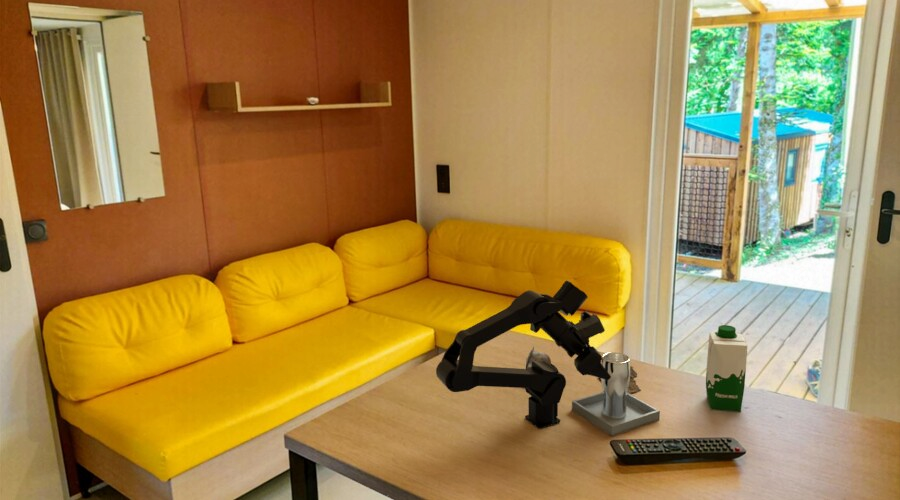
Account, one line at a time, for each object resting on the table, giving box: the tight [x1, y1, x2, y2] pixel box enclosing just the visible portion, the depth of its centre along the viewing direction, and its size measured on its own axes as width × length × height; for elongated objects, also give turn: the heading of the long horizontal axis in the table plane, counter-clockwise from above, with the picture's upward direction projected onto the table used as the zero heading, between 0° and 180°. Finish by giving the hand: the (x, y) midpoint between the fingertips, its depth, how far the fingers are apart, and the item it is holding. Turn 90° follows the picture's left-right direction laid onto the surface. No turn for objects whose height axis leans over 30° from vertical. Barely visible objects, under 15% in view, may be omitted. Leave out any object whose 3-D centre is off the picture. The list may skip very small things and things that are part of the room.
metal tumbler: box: [600, 351, 631, 419], centre depth 156 cm, size 7×7×15 cm
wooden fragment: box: [598, 365, 642, 395], centre depth 180 cm, size 26×11×1 cm, turn 169°
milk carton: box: [705, 324, 748, 413], centre depth 159 cm, size 9×9×20 cm
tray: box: [571, 391, 661, 437], centre depth 158 cm, size 15×15×2 cm
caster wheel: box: [525, 345, 559, 371], centre depth 179 cm, size 7×11×10 cm
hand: (604, 370), depth 155 cm, fingers open, 9 cm apart
